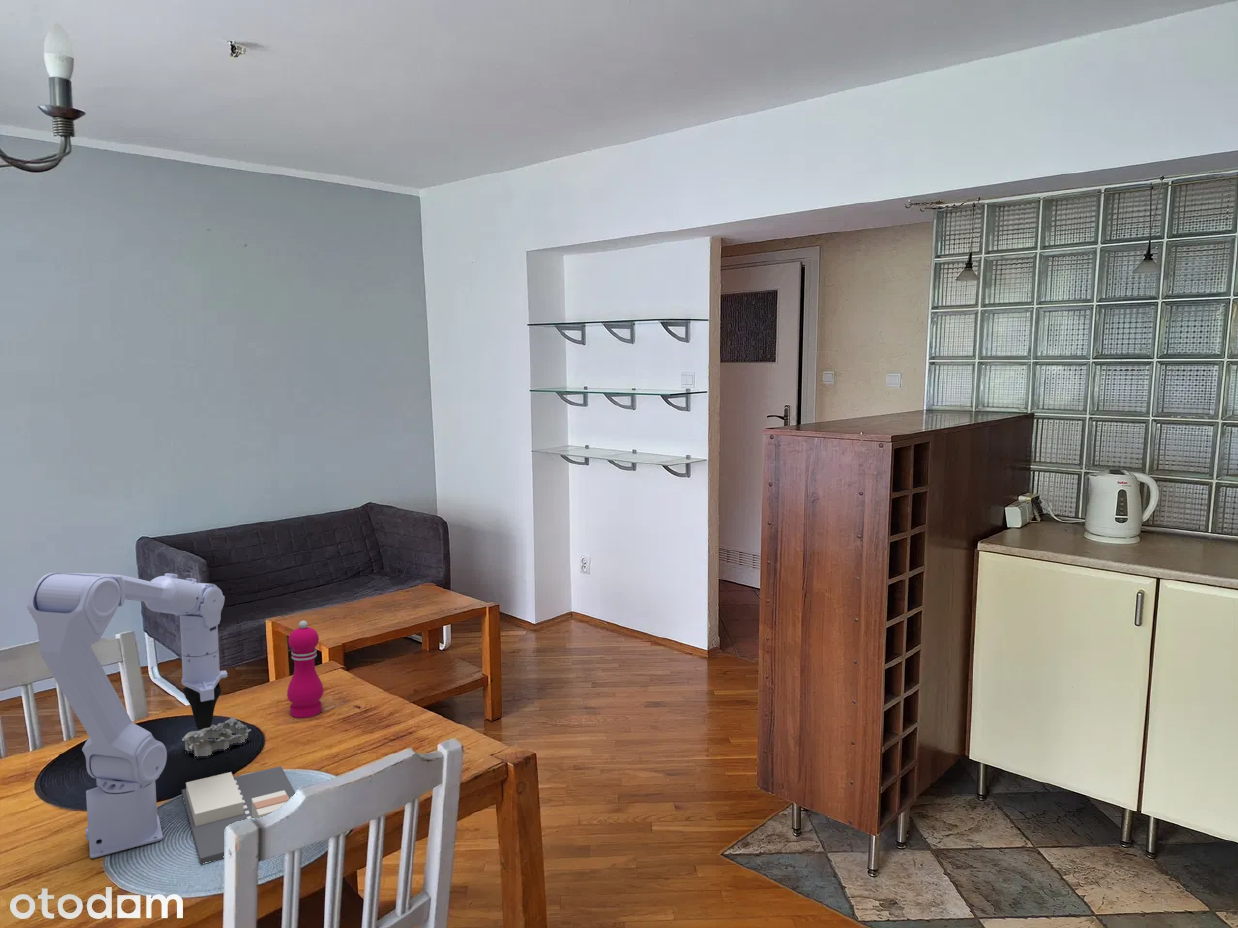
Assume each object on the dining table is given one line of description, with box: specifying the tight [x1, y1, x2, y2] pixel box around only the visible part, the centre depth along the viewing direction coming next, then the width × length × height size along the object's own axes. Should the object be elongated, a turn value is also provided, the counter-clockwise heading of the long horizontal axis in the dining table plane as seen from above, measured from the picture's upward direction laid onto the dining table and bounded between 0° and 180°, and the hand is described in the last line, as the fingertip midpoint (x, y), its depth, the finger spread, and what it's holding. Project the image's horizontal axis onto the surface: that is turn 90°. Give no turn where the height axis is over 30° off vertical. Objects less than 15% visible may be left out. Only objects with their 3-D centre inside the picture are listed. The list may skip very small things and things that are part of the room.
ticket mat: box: [181, 765, 296, 865], centre depth 136 cm, size 16×24×3 cm, turn 33°
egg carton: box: [181, 717, 252, 757], centre depth 160 cm, size 11×8×4 cm
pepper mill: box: [286, 620, 324, 719], centre depth 175 cm, size 7×7×20 cm
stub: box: [252, 790, 289, 818], centre depth 132 cm, size 5×6×3 cm
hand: (203, 727), depth 144 cm, fingers closed
